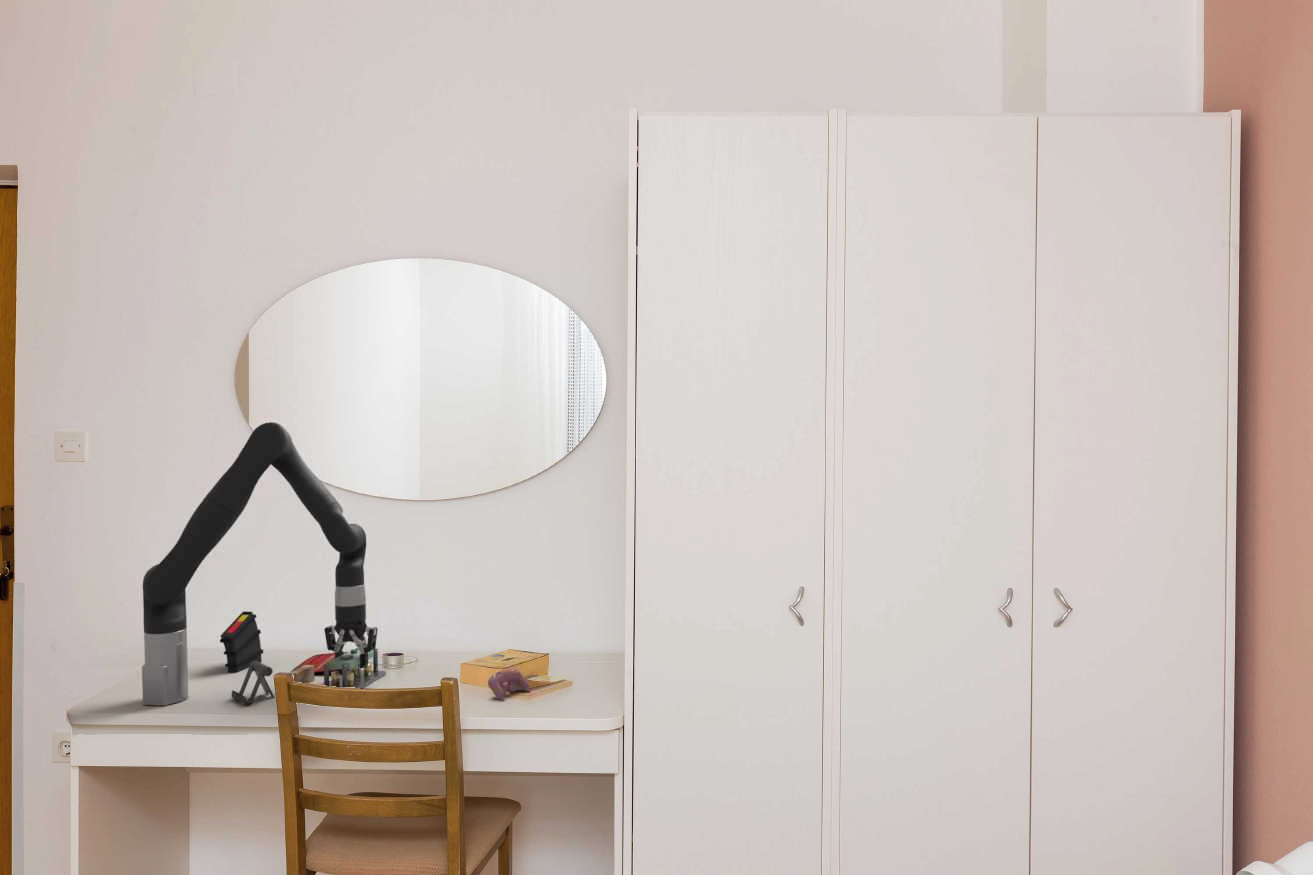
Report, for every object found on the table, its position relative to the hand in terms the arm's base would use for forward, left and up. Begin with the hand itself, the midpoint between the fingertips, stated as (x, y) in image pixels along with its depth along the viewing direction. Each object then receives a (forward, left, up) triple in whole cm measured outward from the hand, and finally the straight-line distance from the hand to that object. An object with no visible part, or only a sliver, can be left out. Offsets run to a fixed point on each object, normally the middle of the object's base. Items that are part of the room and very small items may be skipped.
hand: (351, 666), depth 238 cm
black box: (+9, +38, -4) cm, 39 cm away
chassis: (0, 0, -4) cm, 4 cm away
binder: (+15, +15, -5) cm, 22 cm away
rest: (-3, +13, -4) cm, 14 cm away
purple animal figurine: (-3, -44, -5) cm, 44 cm away
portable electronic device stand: (-16, +17, -5) cm, 24 cm away
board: (0, 0, +1) cm, 1 cm away
